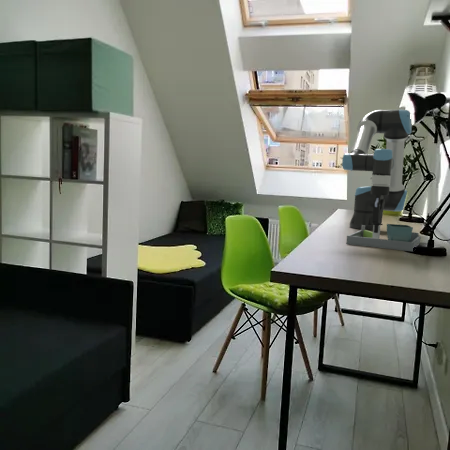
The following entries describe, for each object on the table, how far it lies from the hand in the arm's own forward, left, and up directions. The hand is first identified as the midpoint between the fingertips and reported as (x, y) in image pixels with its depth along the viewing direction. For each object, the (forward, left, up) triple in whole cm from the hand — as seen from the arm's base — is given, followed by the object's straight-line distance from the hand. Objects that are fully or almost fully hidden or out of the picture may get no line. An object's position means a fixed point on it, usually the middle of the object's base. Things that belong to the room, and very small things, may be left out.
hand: (375, 240), depth 206 cm
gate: (-7, -4, -1) cm, 8 cm away
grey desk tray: (-2, +3, -2) cm, 4 cm away
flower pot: (+1, +9, -2) cm, 9 cm away
